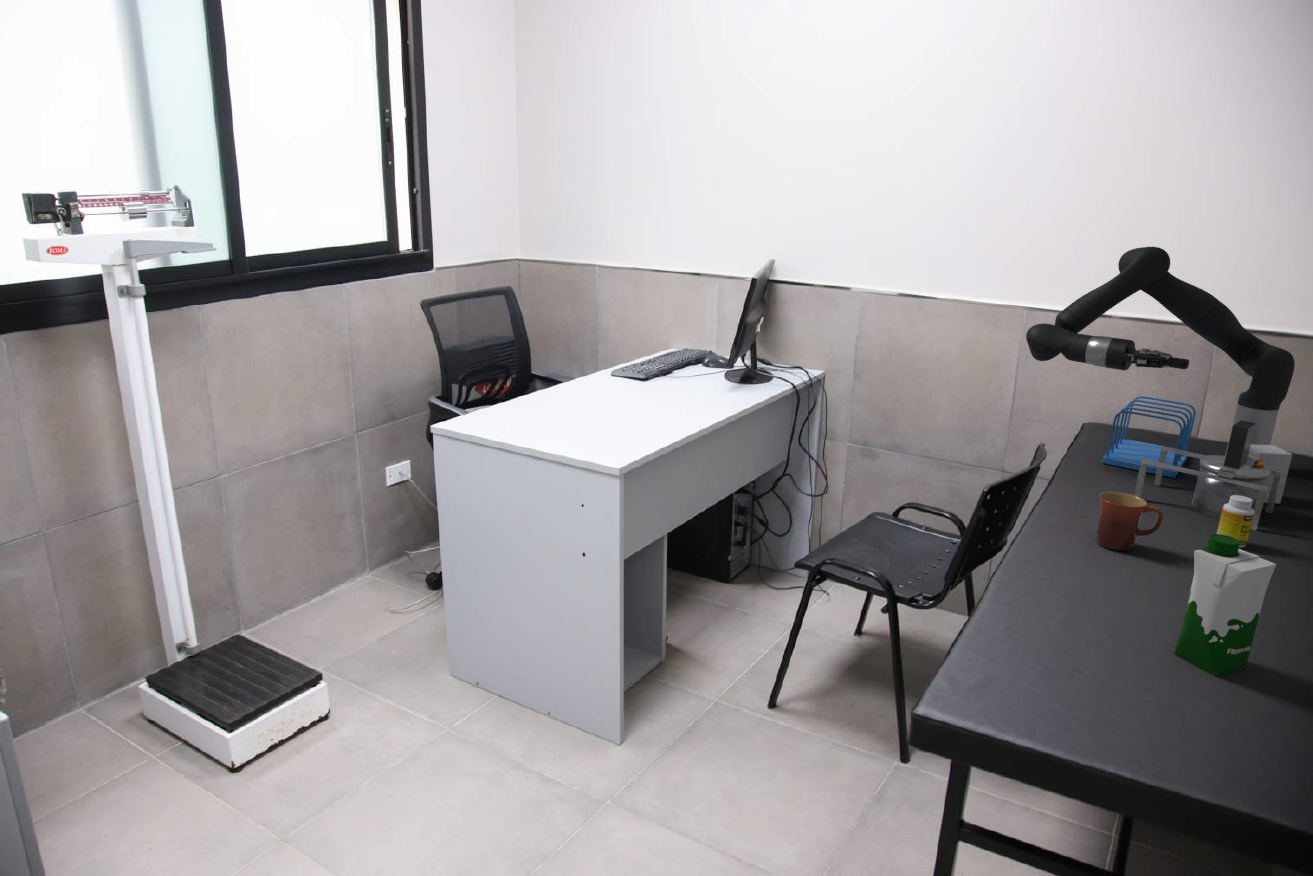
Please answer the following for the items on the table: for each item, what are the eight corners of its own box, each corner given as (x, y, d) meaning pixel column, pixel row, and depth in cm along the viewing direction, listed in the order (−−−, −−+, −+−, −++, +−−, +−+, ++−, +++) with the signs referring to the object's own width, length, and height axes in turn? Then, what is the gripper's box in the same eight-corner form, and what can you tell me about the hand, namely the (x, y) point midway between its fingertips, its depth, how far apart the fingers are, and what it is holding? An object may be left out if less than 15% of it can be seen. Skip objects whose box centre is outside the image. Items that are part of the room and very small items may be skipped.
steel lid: (1190, 469, 198) (1200, 424, 195) (1209, 455, 209) (1219, 412, 206) (1260, 485, 189) (1272, 437, 186) (1276, 469, 200) (1288, 424, 197)
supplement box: (1263, 493, 215) (1275, 444, 211) (1280, 504, 208) (1293, 454, 204) (1231, 491, 215) (1243, 443, 212) (1248, 502, 208) (1260, 452, 205)
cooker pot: (1133, 499, 208) (1141, 459, 205) (1154, 484, 219) (1162, 446, 216) (1255, 530, 191) (1266, 487, 188) (1272, 512, 202) (1282, 471, 199)
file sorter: (1174, 479, 224) (1186, 422, 219) (1101, 464, 234) (1111, 409, 229) (1188, 457, 243) (1200, 403, 238) (1120, 444, 253) (1130, 392, 248)
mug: (1090, 548, 178) (1099, 502, 175) (1090, 534, 186) (1098, 488, 183) (1157, 560, 174) (1167, 513, 171) (1153, 545, 181) (1163, 499, 178)
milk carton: (1201, 642, 143) (1228, 529, 137) (1256, 670, 135) (1287, 552, 129) (1164, 652, 139) (1190, 537, 134) (1218, 682, 131) (1249, 560, 126)
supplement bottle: (1238, 551, 180) (1249, 504, 177) (1209, 541, 184) (1220, 496, 181) (1251, 545, 183) (1262, 500, 180) (1222, 536, 187) (1233, 491, 184)
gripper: (1102, 340, 209) (1183, 352, 198) (1121, 334, 218) (1199, 345, 207) (1097, 371, 211) (1176, 384, 200) (1116, 364, 220) (1192, 376, 209)
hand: (1187, 364), depth 203 cm, fingers closed
